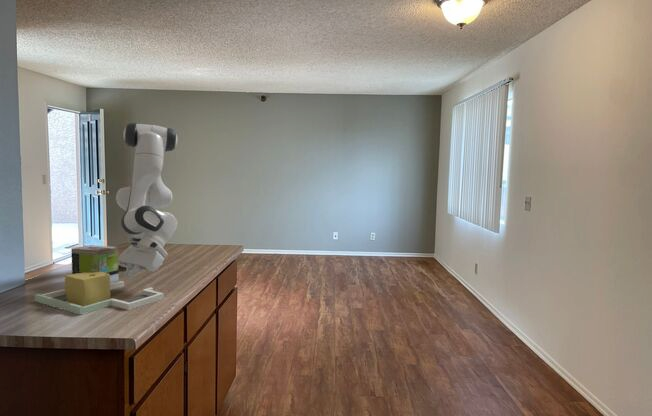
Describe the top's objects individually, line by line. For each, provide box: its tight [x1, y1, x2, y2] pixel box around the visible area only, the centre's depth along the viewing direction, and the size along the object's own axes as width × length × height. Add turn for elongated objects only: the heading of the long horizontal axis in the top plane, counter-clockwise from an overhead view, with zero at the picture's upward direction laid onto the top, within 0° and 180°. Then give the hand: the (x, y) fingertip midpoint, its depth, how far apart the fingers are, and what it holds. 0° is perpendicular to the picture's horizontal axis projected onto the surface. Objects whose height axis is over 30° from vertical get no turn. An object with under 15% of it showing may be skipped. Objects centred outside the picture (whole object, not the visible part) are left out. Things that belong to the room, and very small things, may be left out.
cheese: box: [64, 272, 111, 307], centre depth 143 cm, size 10×11×10 cm
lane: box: [34, 280, 165, 315], centre depth 146 cm, size 35×28×2 cm
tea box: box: [70, 244, 119, 284], centre depth 167 cm, size 15×10×15 cm, turn 71°
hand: (127, 276), depth 155 cm, fingers closed
